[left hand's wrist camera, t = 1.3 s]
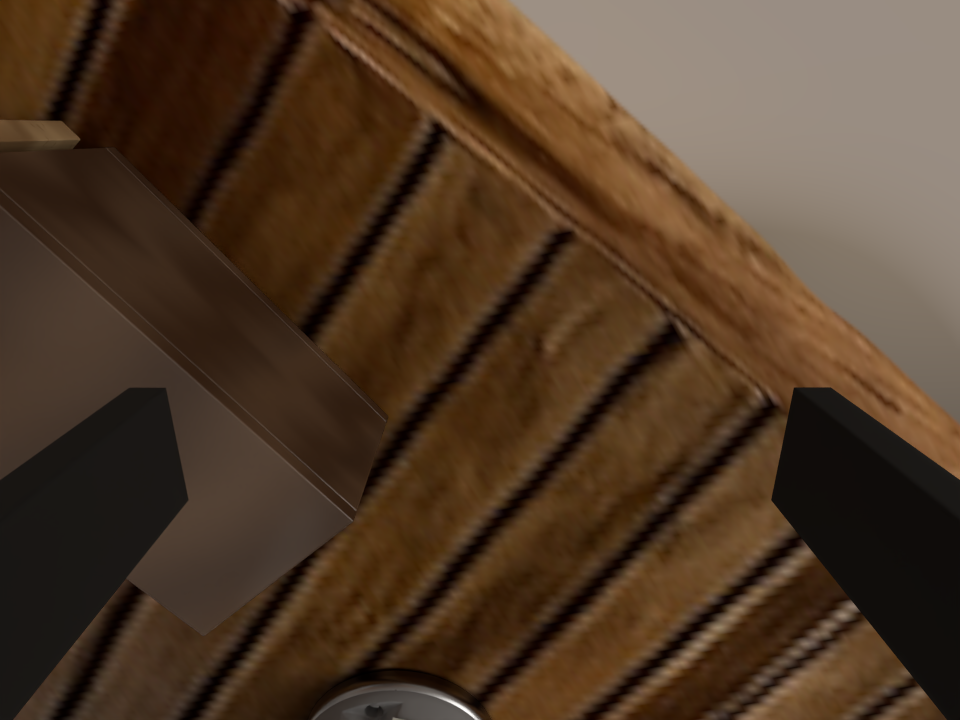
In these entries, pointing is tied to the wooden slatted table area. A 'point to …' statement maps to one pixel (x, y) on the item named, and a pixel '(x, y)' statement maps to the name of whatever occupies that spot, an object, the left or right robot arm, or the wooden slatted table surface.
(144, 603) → the wooden slatted table surface
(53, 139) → the drawer
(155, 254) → the cabinet
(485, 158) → the wooden slatted table surface
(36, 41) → the wooden slatted table surface
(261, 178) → the wooden slatted table surface
